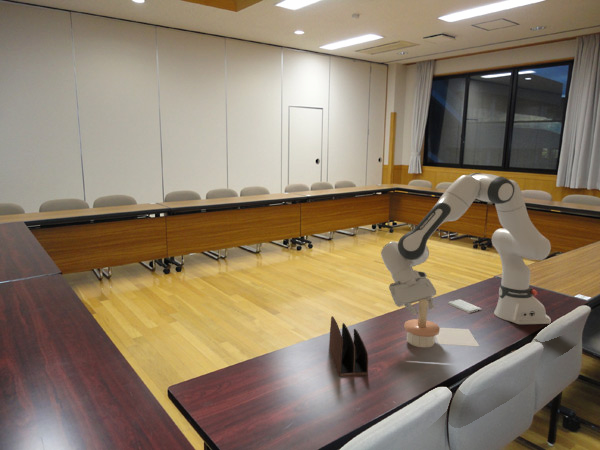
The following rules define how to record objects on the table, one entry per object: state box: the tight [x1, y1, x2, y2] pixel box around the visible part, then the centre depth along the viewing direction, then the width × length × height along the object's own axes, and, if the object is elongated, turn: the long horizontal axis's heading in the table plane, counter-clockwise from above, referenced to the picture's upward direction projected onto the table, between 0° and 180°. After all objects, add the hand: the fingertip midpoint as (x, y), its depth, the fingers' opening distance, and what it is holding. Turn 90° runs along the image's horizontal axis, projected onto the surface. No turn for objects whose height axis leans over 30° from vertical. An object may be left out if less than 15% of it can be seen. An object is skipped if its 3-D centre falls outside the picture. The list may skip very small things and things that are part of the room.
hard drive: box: [447, 299, 482, 314], centre depth 199 cm, size 2×8×12 cm
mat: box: [435, 327, 480, 347], centre depth 167 cm, size 15×15×1 cm
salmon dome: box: [403, 299, 441, 337], centre depth 161 cm, size 13×13×12 cm
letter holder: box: [328, 316, 369, 377], centre depth 147 cm, size 10×20×14 cm, turn 5°
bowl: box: [406, 331, 436, 348], centre depth 162 cm, size 10×10×6 cm
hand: (424, 311), depth 160 cm, fingers open, 8 cm apart
